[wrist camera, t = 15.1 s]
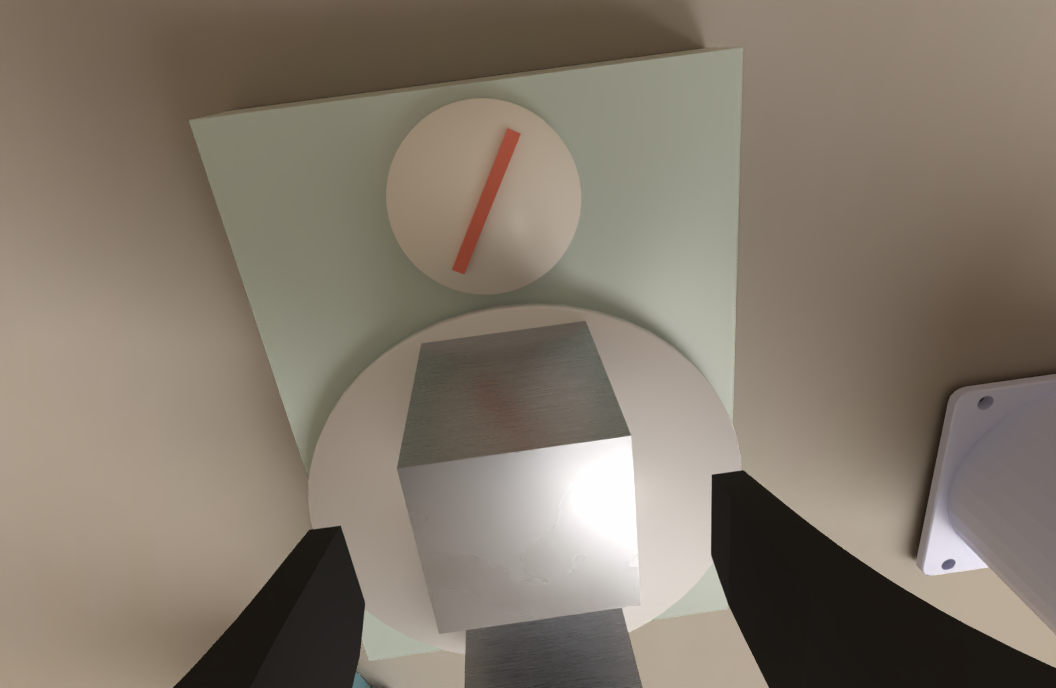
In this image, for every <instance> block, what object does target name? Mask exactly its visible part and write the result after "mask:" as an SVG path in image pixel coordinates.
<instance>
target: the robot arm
mask: <svg viewBox="0 0 1056 688" xmlns="http://www.w3.org/2000/svg"><path fill="white" fill-rule="evenodd" d="M983 397H984V398H983ZM982 398H983V400H982V401H980V402H979V400H981V399H982ZM978 402H979V403H978ZM711 557H712V560H713V563H714V565H715V568H716V571H717V574H718V577H719V580H720V583H721V586H722V588H723V591H724V594H725V597H726V599H727V602H728V605H729V607H730V609H731V611H732V613H733V615H734V617H735V619H736V621H737V623H738V626H739V628H740V630H741V632H742V634H743V636H744V638H745V640H746V642H747V644H748V646H749V648H750V650H751V652H752V654H753V656H754V658H755V660H756V662H757V664H758V666H759V668H760V670H761V672H762V674H763V676H764V678H765V680H766V682H767V684H768V686H769V688H1056V668H1055V667H1052V666H1050V665H1048V664H1046V663H1043V662H1041V661H1039V660H1037V659H1035V658H1033V657H1031V656H1028V655H1026V654H1024V653H1022V652H1020V651H1018V650H1016V649H1014V648H1012V647H1010V646H1008V645H1006V644H1004V643H1002V642H1000V641H998V640H996V639H994V638H992V637H990V636H988V635H986V634H984V633H982V632H980V631H978V630H976V629H974V628H972V627H970V626H968V625H966V624H964V623H963V622H961V621H959V620H957V619H955V618H953V617H952V616H950V615H948V614H946V613H944V612H942V611H941V610H939V609H937V608H936V607H934V606H932V605H930V604H929V603H927V602H925V601H924V600H922V599H920V598H918V597H917V596H915V595H913V594H912V593H910V592H908V591H907V590H905V589H903V588H902V587H900V586H898V585H897V584H895V583H894V582H892V581H890V580H889V579H887V578H886V577H884V576H883V575H881V574H880V573H878V572H877V571H875V570H874V569H872V568H871V567H869V566H868V565H866V564H865V563H863V562H862V561H860V560H859V559H857V558H856V557H854V556H853V555H851V554H850V553H849V552H847V551H846V550H844V549H843V548H842V547H840V546H839V545H837V544H836V543H835V542H833V541H832V540H831V539H829V538H828V537H827V536H825V535H824V534H823V533H821V532H820V531H819V530H817V529H816V528H815V527H813V526H812V525H811V524H809V523H808V522H807V521H806V520H804V519H803V518H802V517H800V516H799V515H798V514H797V513H795V512H794V511H793V510H792V509H790V508H789V507H788V506H787V505H785V504H784V503H783V502H782V501H780V500H779V499H778V498H777V497H775V496H774V495H773V494H772V493H771V492H769V491H768V490H767V489H766V488H764V487H763V486H762V485H761V484H759V483H758V482H757V481H756V480H755V479H753V478H752V477H751V476H750V475H748V474H747V473H746V472H745V471H743V470H741V471H734V472H727V473H720V474H712V492H711ZM916 565H917V566H918V568H919V569H920V570H921V571H922V572H923V574H926V575H939V574H946V573H953V572H960V571H967V570H973V569H980V568H987V567H989V568H990V569H991V570H992V571H993V572H994V573H995V574H996V575H997V576H998V577H999V578H1000V579H1001V580H1002V581H1003V582H1004V583H1005V584H1006V585H1007V586H1008V587H1009V588H1010V589H1011V590H1012V591H1013V592H1014V593H1015V594H1016V595H1017V596H1018V597H1019V598H1020V599H1021V600H1022V601H1023V602H1024V603H1025V604H1026V605H1027V606H1028V607H1029V608H1030V609H1031V610H1032V611H1033V612H1034V613H1035V614H1036V615H1037V616H1038V617H1039V618H1040V619H1041V620H1042V621H1043V622H1044V623H1045V624H1046V625H1047V626H1048V627H1049V628H1050V629H1051V630H1052V631H1053V632H1054V634H1055V635H1056V374H1051V375H1044V376H1037V377H1030V378H1023V379H1016V380H1009V381H1001V382H994V383H987V384H980V385H973V386H966V387H962V388H959V389H958V390H956V391H955V392H954V393H953V394H952V395H951V396H950V398H949V401H948V404H947V409H946V414H945V419H944V424H943V429H942V434H941V439H940V444H939V449H938V454H937V459H936V464H935V469H934V474H933V479H932V484H931V489H930V494H929V499H928V504H927V509H926V514H925V519H924V524H923V530H922V535H921V540H920V545H919V550H918V555H917V560H916ZM364 611H365V600H364V597H363V594H362V591H361V588H360V584H359V581H358V578H357V575H356V572H355V569H354V565H353V562H352V559H351V556H350V553H349V550H348V547H347V543H346V540H345V537H344V534H343V531H342V528H341V526H334V527H327V528H320V529H312V530H309V531H308V532H307V533H306V535H305V536H304V537H303V538H302V539H301V541H300V542H299V543H298V544H297V546H296V547H295V548H294V549H293V551H292V552H291V553H290V554H289V555H288V557H287V558H286V559H285V560H284V562H283V563H282V564H281V565H280V567H279V568H278V569H277V570H276V572H275V573H274V574H273V575H272V577H271V578H270V579H269V580H268V582H267V583H266V584H265V585H264V587H263V588H262V589H261V590H260V591H259V593H258V594H257V595H256V596H255V597H254V599H253V600H252V601H251V602H250V603H249V605H248V606H247V607H246V608H245V609H244V611H243V612H242V613H241V614H240V615H239V617H238V618H237V619H236V620H235V621H234V623H233V624H232V625H231V626H230V627H229V628H228V629H227V630H226V631H225V633H224V634H223V635H222V636H221V637H220V638H219V639H218V640H217V641H216V643H215V644H214V645H213V646H212V647H211V648H210V649H209V650H208V651H207V653H206V654H205V655H204V656H203V657H202V658H201V659H200V660H199V661H198V663H197V664H196V665H195V666H194V667H193V668H192V669H191V670H190V671H189V672H188V673H187V674H186V675H185V676H184V677H183V678H182V679H181V680H180V681H179V682H178V683H177V684H176V685H175V686H174V687H173V688H352V687H353V683H354V678H355V674H356V670H357V665H358V660H359V656H360V648H361V640H362V632H363V621H364Z"/></svg>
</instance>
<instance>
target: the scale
mask: <svg viewBox="0 0 1056 688" xmlns="http://www.w3.org/2000/svg"><path fill="white" fill-rule="evenodd" d="M742 69H743V47H738V48H703V49H695V50H687V51H680V52H672V53H665V54H657V55H649V56H642V57H634V58H627V59H619V60H611V61H604V62H596V63H588V64H581V65H573V66H566V67H558V68H550V69H543V70H535V71H528V72H520V73H512V74H505V75H497V76H490V77H482V78H474V79H467V80H459V81H452V82H444V83H436V84H429V85H421V86H414V87H406V88H398V89H391V90H383V91H376V92H368V93H360V94H353V95H345V96H338V97H330V98H322V99H315V100H307V101H300V102H292V103H284V104H277V105H269V106H262V107H254V108H246V109H239V110H231V111H226V112H222V113H218V114H213V115H209V116H205V117H201V118H197V119H192V120H189V123H190V126H191V129H192V132H193V135H194V138H195V141H196V144H197V147H198V150H199V153H200V156H201V159H202V162H203V165H204V168H205V171H206V174H207V177H208V180H209V183H210V186H211V189H212V192H213V195H214V198H215V201H216V204H217V207H218V210H219V213H220V216H221V219H222V222H223V225H224V228H225V231H226V234H227V237H228V240H229V243H230V246H231V249H232V252H233V255H234V258H235V261H236V264H237V267H238V270H239V273H240V276H241V279H242V282H243V285H244V288H245V291H246V294H247V297H248V300H249V303H250V306H251V309H252V312H253V315H254V318H255V321H256V324H257V327H258V330H259V333H260V336H261V339H262V342H263V345H264V348H265V351H266V354H267V357H268V360H269V363H270V366H271V369H272V372H273V375H274V378H275V381H276V384H277V387H278V390H279V393H280V396H281V399H282V402H283V405H284V408H285V411H286V414H287V417H288V420H289V423H290V426H291V429H292V432H293V435H294V438H295V441H296V444H297V447H298V450H299V453H300V456H301V459H302V462H303V465H304V468H305V471H306V474H307V477H308V480H309V484H308V504H309V515H310V521H311V524H312V528H313V529H320V528H327V527H334V526H341V528H342V531H343V534H344V537H345V540H346V543H347V547H348V550H349V553H350V556H351V559H352V562H353V565H354V569H355V572H356V575H357V578H358V581H359V584H360V588H361V591H362V594H363V597H364V600H365V611H364V621H363V632H362V642H363V645H364V648H365V651H366V654H367V657H368V660H369V661H373V660H380V659H386V658H393V657H400V656H407V655H414V654H421V653H428V652H435V651H442V650H448V651H451V652H455V653H460V654H465V649H466V630H463V631H457V632H450V633H443V634H439V632H438V628H437V624H436V620H435V616H434V612H433V608H432V604H431V600H430V597H429V593H428V589H427V585H426V581H425V577H424V573H423V569H422V565H421V561H420V557H419V554H418V550H417V546H416V542H415V538H414V534H413V530H412V526H411V522H410V518H409V515H408V511H407V507H406V503H405V499H404V495H403V491H402V487H401V483H400V479H399V475H398V472H397V465H398V460H399V455H400V449H401V444H402V439H403V434H404V429H405V424H406V419H407V414H408V409H409V404H410V398H411V393H412V388H413V383H414V378H415V373H416V368H417V363H418V358H419V352H420V347H421V343H427V342H435V341H442V340H449V339H456V338H464V337H471V336H478V335H486V334H493V333H500V332H507V331H515V330H522V329H529V328H537V327H544V326H551V325H558V324H566V323H573V322H580V321H586V323H587V325H588V328H589V330H590V333H591V335H592V338H593V340H594V343H595V345H596V348H597V350H598V353H599V355H600V358H601V360H602V363H603V365H604V368H605V370H606V373H607V375H608V378H609V380H610V383H611V386H612V388H613V391H614V393H615V396H616V398H617V401H618V403H619V406H620V408H621V411H622V413H623V416H624V418H625V421H626V423H627V426H628V428H629V431H630V433H631V437H632V455H633V473H634V491H635V509H636V527H637V545H638V563H639V581H640V599H641V605H637V606H630V607H623V608H622V610H623V614H624V618H625V622H626V626H627V630H628V633H629V632H631V631H633V630H635V629H637V628H639V627H640V626H642V625H644V624H646V623H647V622H649V621H650V620H657V619H663V618H670V617H677V616H684V615H691V614H698V613H705V612H712V611H719V610H726V609H728V602H727V599H726V597H725V594H724V591H723V588H722V586H721V583H720V580H719V577H718V574H717V571H716V568H715V565H714V563H713V560H712V557H711V492H712V474H720V473H727V472H734V471H741V470H742V465H741V454H740V449H739V444H738V440H737V435H736V432H735V429H734V427H733V396H734V359H735V323H736V287H737V251H738V214H739V178H740V142H741V105H742Z"/></svg>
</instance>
